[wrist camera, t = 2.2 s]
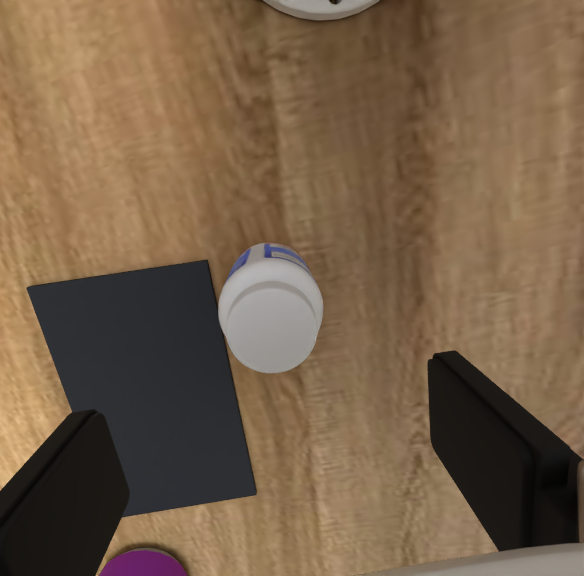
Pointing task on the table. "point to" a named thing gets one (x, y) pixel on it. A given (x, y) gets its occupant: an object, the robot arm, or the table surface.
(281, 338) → the pill bottle
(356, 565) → the table surface
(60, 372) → the desk mat
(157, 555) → the beverage can
